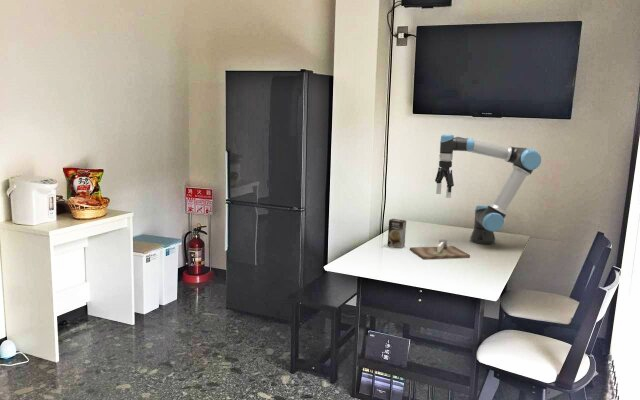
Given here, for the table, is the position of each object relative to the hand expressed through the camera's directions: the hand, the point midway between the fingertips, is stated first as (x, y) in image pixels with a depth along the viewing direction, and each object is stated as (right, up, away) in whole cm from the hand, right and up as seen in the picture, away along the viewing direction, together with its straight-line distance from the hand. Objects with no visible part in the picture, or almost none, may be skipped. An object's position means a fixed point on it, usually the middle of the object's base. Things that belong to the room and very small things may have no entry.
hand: (443, 195), depth 324 cm
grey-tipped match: (-4, -31, -12) cm, 34 cm away
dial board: (-6, -33, -14) cm, 37 cm away
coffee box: (-28, -31, 0) cm, 42 cm away
